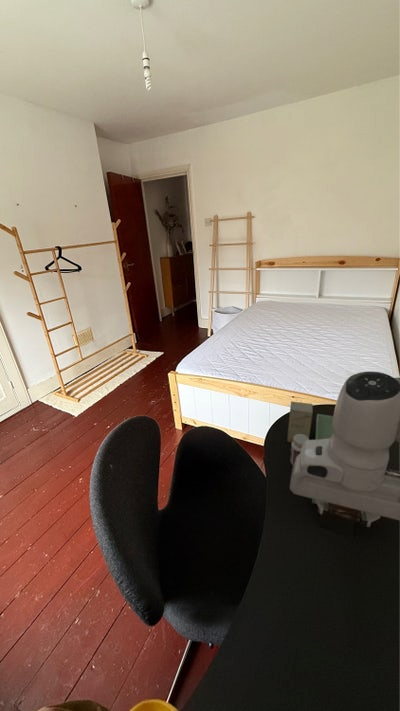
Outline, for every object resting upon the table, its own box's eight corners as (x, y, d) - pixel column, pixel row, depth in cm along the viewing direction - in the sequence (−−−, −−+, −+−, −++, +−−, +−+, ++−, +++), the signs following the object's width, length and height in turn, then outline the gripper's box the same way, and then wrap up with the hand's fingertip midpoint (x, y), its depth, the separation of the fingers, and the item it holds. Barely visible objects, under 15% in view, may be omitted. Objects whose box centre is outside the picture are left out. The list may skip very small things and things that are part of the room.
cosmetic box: (287, 442, 90) (289, 409, 85) (288, 432, 94) (290, 400, 89) (309, 445, 88) (312, 412, 83) (309, 436, 92) (312, 403, 87)
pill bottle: (311, 464, 82) (314, 441, 78) (297, 470, 80) (299, 447, 77) (300, 453, 86) (302, 430, 82) (286, 458, 84) (288, 435, 81)
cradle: (367, 540, 62) (374, 518, 59) (305, 523, 67) (308, 501, 64) (362, 493, 73) (367, 471, 70) (308, 480, 77) (310, 459, 74)
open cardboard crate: (367, 538, 55) (372, 515, 53) (317, 524, 58) (320, 502, 56) (357, 476, 70) (361, 457, 68) (318, 468, 73) (320, 449, 71)
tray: (359, 514, 68) (361, 506, 67) (311, 502, 71) (313, 494, 70) (350, 426, 94) (351, 419, 93) (316, 420, 98) (317, 413, 97)
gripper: (423, 463, 49) (403, 518, 55) (294, 439, 56) (289, 490, 62) (434, 494, 44) (411, 551, 50) (291, 463, 51) (286, 516, 57)
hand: (343, 517), depth 56 cm, fingers closed on open cardboard crate, 6 cm apart
